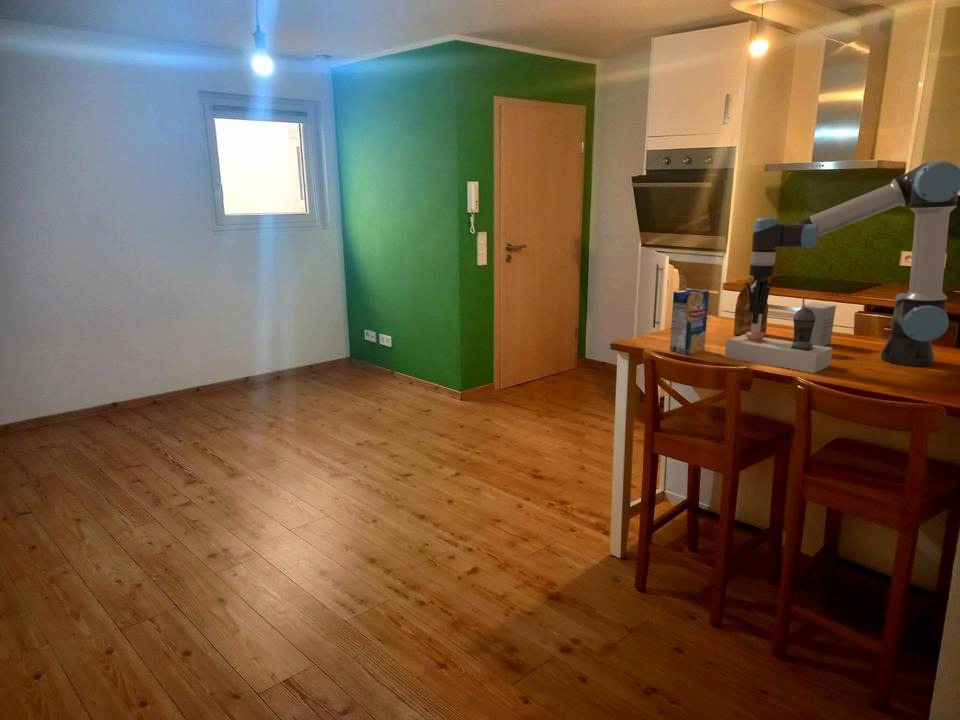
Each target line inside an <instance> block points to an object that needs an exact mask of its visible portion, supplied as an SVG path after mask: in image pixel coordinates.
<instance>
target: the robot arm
mask: <svg viewBox="0 0 960 720" xmlns="http://www.w3.org/2000/svg"><path fill="white" fill-rule="evenodd" d="M959 192H960V167H958V166H957V165H956V164H955V163H952V162H950V161H945V160H934V161H931V162H925V163H924V164H920V165H919V166H916V167H915V168H914V169H912V170H910V171H908V172H906V173H904V174H902V175H900V176H898V177H895V178H893V179H892V181H891V182H890V183H889V184H886V185H884V186H881V187H879V188H876V189H875V190H872V191H870V192H867V193H865V194H861V195H858V196H857V197H855V198H851V199H850V200H847V201H844V202H842V203H840V204H838V205H834V206H833V207H830V208H828V209H825V210H822V211H821V212H818V213H815V214H813V215H811V216H808V217H805V218H803V219H801V220H798V221H793V222H791V223H790V224H789V223H786V224H785V223H780V219H779V217H758V218H756V219H755V221H754V225H753V233H752V243H751V244H752V245H751V248H752V249H751V253H750V263H751V265H750V266H749V273H748V275H750V276H752V277H753V280H752V281H751V282H752V286H749V287H748V290H749V313H750V314H752V323H751V332H753V333H760V329H761V320H762V314H765V312H763V311H765V310H766V306H767V303H768V301H769V300H768V299H769V295H770V290H771V287H772V282H769V281H770V280H769V278H771V277H773V276H774V272H775V266H774V264H775V262H776V256H777V254H776V253H777V248H803V249H806V248H815V247H817V244H818V237H821V236H823V235H826V234H829V233H832V232H834V231H836V230H839V229H842V228H845V227H847V226H849V225H851V224H854V223H858V222H859V221H862V220H865V219H867V218H870V217H872V216H875V215H877V214H880V213H883V212H885V211H888V210H890V209H894V208H896V207H898V206H900V207H907V206H909V205H910V206H909V207H910V208H909V210H911V211H912V212H913V213H914V214H915V215H914V217H915V218H914V228H913V239H912V249H911V250H912V251H911V263H910V271H909V272H910V275H909V287H908V292H907V293H904V292H903V293H899V294H897V295H896V297H895V301H894V309H893V313H892V314H893V315H892V321H891V322H892V323H891V329H890V335H889V338H888V340H887V342H886V343H885V345H884V347H883V349H882V351H881V355H880V359H881V360H883V361H885V362H887V363H891V364H896V365H901V366H908V367H909V366H911V367H931V366H933V365H934V363H935V354H934V350H933V349H934V348H933V345H932V341H934V340H937V339H939V338H940V337H942V336H943V335H944V334H945V332H946V331H947V330H948V328H949V321H950V320H949V315H948V313H947V306H948V296H947V295H946V294H945V293H944V292H943V286H944V285H943V284H944V275H945V273H944V272H945V267H946V266H945V264H946V254H947V245H948V243H947V242H948V235H949V234H948V233H949V223H950V213H951V212H952V211H954V210H955V209H956V207H957V206H958V197H959V196H958V195H959Z"/></svg>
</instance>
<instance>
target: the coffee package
mask: <svg viewBox="0 0 960 720" xmlns="http://www.w3.org/2000/svg"><path fill="white" fill-rule="evenodd" d="M752 282H753V281H747V282H745V284H744V285H743V287H742V288H741V290H740V292H739V293H738V295H737V298H736V304H735V310H734V322H733V324H734V325H733V335H734V336H741V335H744V334H745V335H746V332H749V331H751V323H752V314H750V313H749V290H748V287H749V286H752ZM768 303H769V302H767V306H766V310H765V311H763V312H765V314H762V320H761V329H760V332H763V333H765V334H766V333H767V325H768V316H769V315H768V313H769V304H768Z"/></svg>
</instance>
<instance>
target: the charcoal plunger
mask: <svg viewBox="0 0 960 720" xmlns="http://www.w3.org/2000/svg"><path fill="white" fill-rule="evenodd" d="M792 342H793V345H792V347H793V348H794V349H798V350H805V351H809V350H810V349H812V348H813V344H812V343H809V342H801V341H797V342H794V341H792Z"/></svg>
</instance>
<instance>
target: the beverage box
mask: <svg viewBox="0 0 960 720" xmlns="http://www.w3.org/2000/svg"><path fill="white" fill-rule="evenodd" d="M709 293H710V291H709V290H704V289H696V288H695V289H694V288H692V289H684V290H682V289H681V290H676V291H673V298H672V307H671V308H672V309H671V310H672V312H671V324H670V325H671V326H670V327H671V328H670V339H669V340H670V341H669V342H670V344H669V352H670V353H675V354H678V355H683V356H687V355H686V354H688V355H691V354H690V353H692V354H696V353H695V352H697V353H700V352H699V351H701V352H705V347H706V334H707V333H706V332H707V322H708V321H707V319H708V318H707V317H708V310H709V309H708V308H709V295H710V294H709Z"/></svg>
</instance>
